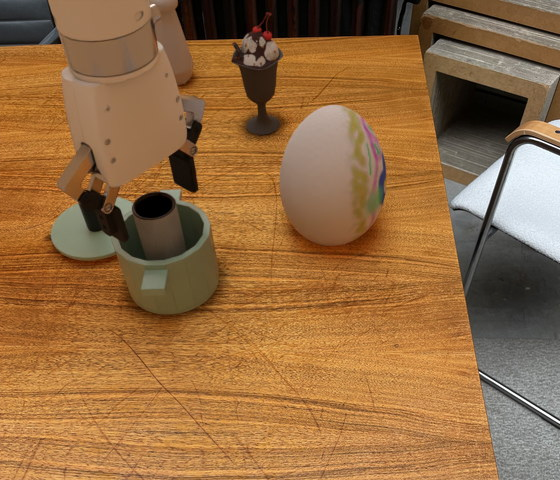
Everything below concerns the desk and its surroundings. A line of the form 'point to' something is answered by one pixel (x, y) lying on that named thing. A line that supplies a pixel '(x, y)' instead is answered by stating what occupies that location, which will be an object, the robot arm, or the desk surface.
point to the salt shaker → (173, 40)
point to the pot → (171, 264)
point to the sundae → (259, 75)
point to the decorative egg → (333, 176)
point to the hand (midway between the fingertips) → (152, 210)
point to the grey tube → (159, 226)
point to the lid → (84, 233)
